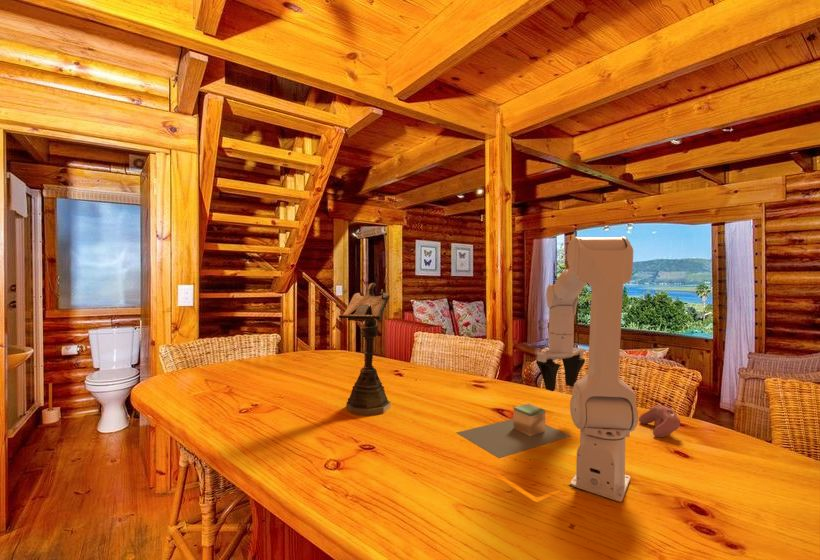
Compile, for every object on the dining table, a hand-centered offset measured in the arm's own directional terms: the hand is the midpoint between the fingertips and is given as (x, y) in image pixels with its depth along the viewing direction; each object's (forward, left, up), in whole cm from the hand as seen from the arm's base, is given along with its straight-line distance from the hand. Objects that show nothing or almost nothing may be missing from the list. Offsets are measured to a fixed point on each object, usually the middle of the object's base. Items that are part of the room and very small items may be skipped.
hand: (560, 387), depth 95 cm
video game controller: (+11, -20, -9) cm, 25 cm away
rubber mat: (-15, +6, -9) cm, 18 cm away
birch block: (-10, +4, -8) cm, 14 cm away
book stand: (-24, +43, -9) cm, 50 cm away
